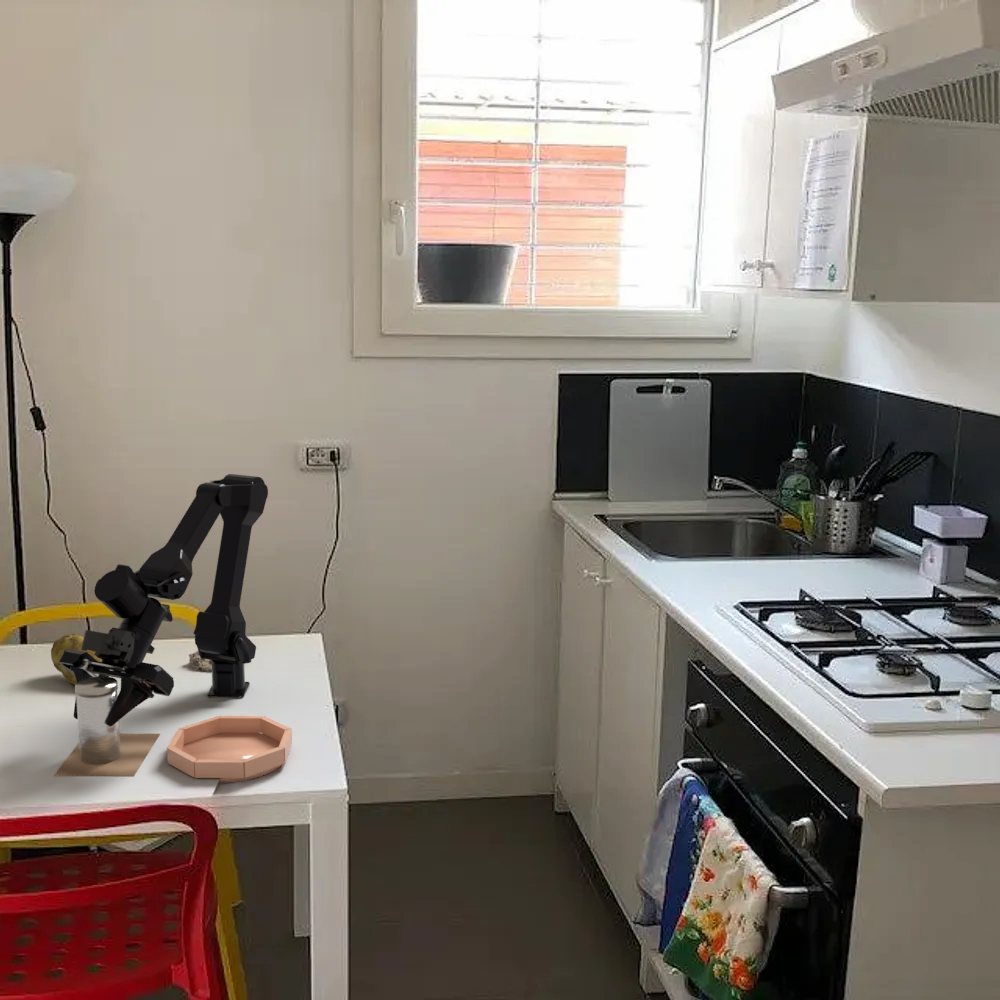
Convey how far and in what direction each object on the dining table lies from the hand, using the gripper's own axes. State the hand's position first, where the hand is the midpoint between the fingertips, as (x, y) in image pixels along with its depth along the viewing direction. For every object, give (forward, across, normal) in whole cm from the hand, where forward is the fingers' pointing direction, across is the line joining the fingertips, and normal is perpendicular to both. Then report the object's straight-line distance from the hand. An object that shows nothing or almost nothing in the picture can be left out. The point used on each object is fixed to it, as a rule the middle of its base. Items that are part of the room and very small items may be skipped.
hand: (92, 721), depth 187 cm
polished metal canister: (+4, 0, +5) cm, 6 cm away
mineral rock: (-27, -10, +37) cm, 47 cm away
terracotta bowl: (-3, +18, +13) cm, 22 cm away
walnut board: (+3, 0, +7) cm, 8 cm away
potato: (-14, -28, +24) cm, 39 cm away
